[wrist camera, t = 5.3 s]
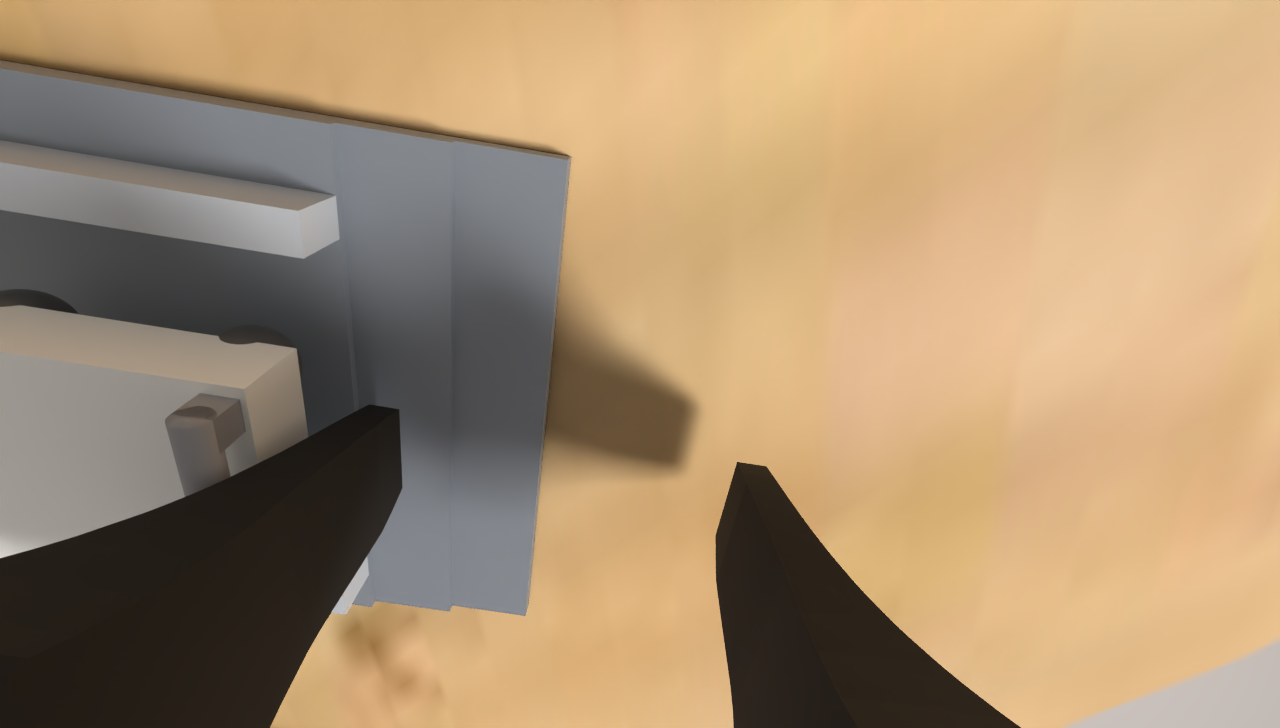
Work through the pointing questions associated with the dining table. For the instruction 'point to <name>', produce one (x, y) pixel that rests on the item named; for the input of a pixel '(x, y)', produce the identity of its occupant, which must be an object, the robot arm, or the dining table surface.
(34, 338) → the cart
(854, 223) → the dining table surface
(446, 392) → the dock
